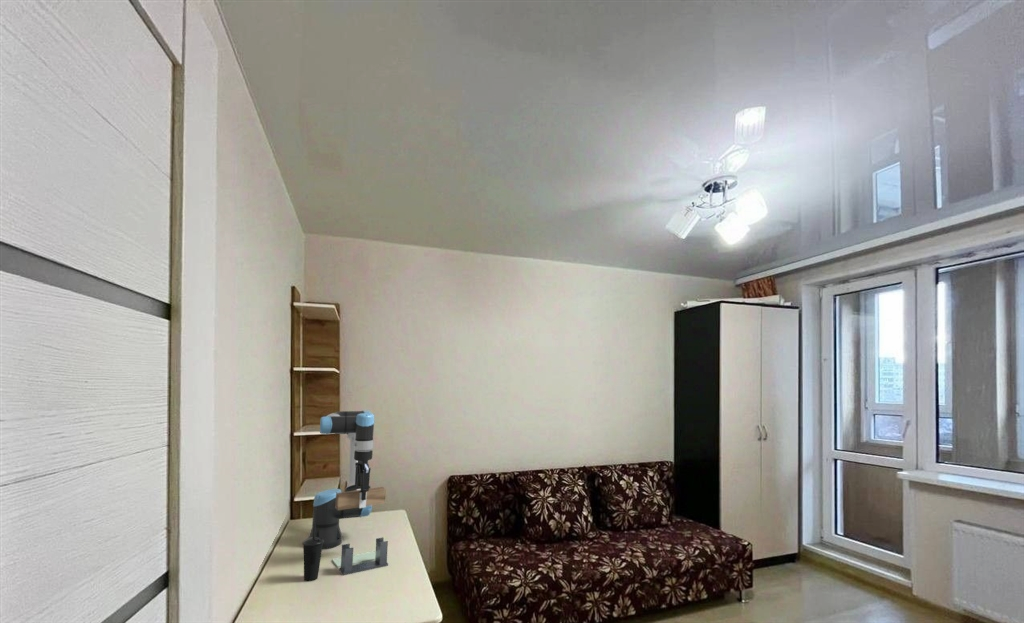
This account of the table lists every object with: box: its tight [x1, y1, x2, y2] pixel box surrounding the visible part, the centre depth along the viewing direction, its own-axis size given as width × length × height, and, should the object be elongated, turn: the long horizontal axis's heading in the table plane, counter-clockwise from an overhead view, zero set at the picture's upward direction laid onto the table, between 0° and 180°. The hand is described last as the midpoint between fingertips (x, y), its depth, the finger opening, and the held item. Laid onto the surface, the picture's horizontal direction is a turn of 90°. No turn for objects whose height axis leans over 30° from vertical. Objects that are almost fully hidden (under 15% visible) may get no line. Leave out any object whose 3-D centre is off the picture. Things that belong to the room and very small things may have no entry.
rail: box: [335, 486, 387, 510], centre depth 203 cm, size 4×20×6 cm, turn 125°
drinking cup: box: [302, 524, 324, 582], centre depth 183 cm, size 8×8×20 cm
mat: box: [331, 550, 376, 569], centre depth 201 cm, size 9×18×1 cm, turn 124°
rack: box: [338, 536, 389, 576], centre depth 193 cm, size 6×18×10 cm, turn 124°
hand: (360, 505), depth 203 cm, fingers closed on rail, 4 cm apart
